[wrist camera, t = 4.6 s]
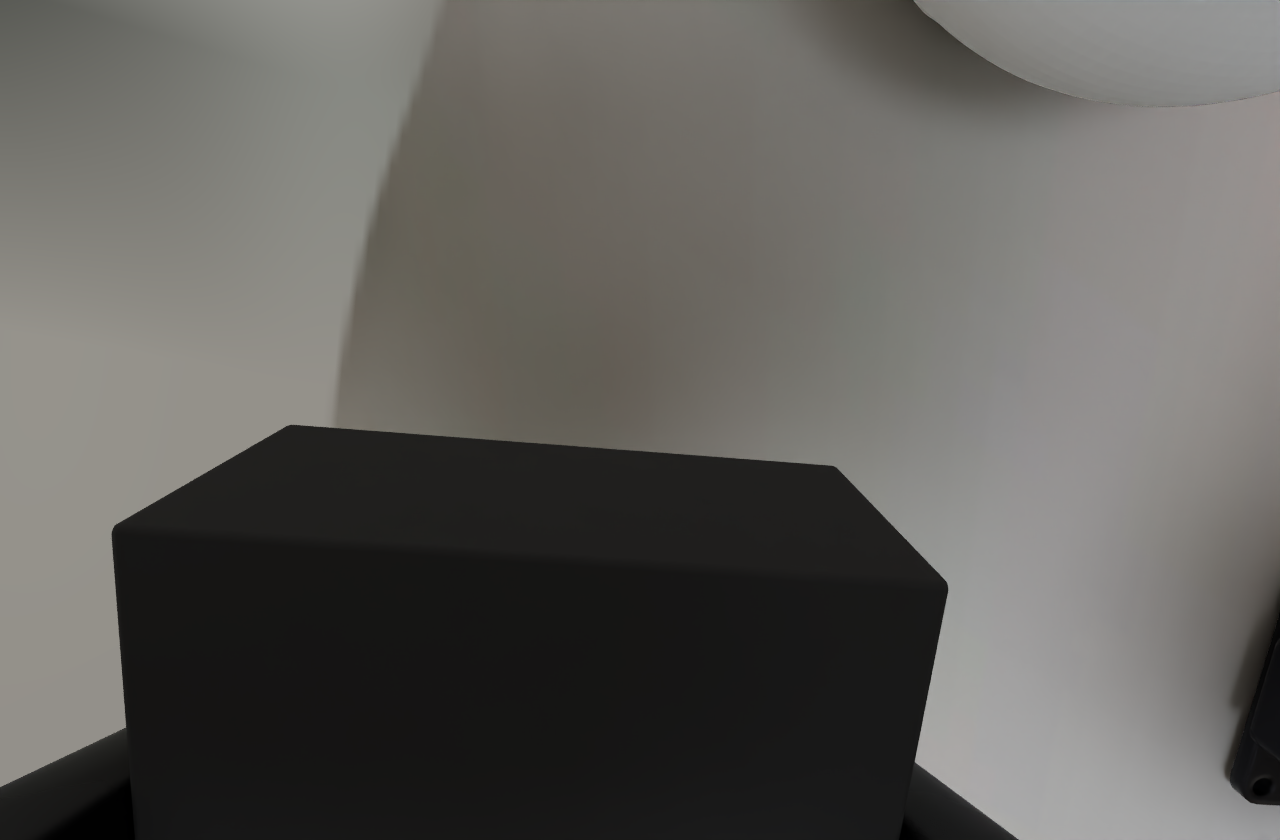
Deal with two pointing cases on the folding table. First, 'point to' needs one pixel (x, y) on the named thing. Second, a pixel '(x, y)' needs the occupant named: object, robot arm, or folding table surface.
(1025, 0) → the vase
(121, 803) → the robot arm
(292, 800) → the black block
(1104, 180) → the folding table surface
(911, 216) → the folding table surface
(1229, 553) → the folding table surface
